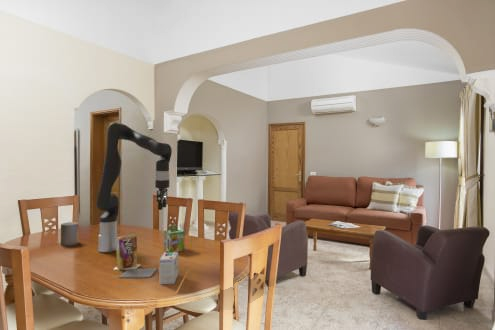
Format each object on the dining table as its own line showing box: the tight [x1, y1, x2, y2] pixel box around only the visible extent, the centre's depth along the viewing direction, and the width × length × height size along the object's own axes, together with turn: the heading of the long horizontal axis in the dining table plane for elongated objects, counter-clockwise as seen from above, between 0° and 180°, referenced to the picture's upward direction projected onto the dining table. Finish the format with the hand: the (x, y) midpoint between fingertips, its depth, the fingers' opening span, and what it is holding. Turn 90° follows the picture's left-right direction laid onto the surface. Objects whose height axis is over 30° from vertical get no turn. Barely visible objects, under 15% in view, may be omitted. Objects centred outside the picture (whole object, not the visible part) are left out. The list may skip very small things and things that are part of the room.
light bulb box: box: [158, 251, 179, 285], centre depth 134 cm, size 11×7×11 cm, turn 5°
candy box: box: [116, 233, 138, 271], centre depth 150 cm, size 9×4×15 cm, turn 133°
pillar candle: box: [60, 221, 79, 247], centre depth 191 cm, size 10×10×15 cm
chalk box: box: [163, 224, 186, 253], centre depth 178 cm, size 9×9×15 cm
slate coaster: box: [118, 268, 158, 279], centre depth 141 cm, size 14×10×1 cm
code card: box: [112, 263, 141, 271], centre depth 150 cm, size 11×7×1 cm, turn 90°
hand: (162, 208), depth 166 cm, fingers open, 8 cm apart
